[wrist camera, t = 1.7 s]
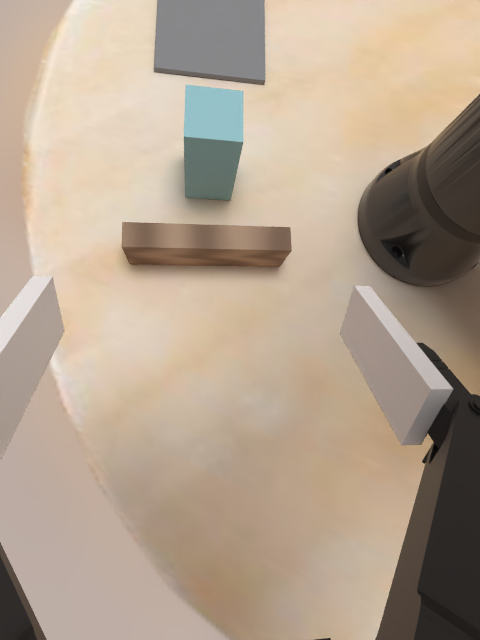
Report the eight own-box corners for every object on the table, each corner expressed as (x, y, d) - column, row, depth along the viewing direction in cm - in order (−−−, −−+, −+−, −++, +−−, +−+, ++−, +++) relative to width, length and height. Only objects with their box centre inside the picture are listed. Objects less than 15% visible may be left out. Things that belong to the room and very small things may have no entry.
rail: (278, 246, 41) (290, 227, 36) (279, 267, 40) (291, 250, 36) (130, 243, 39) (122, 222, 34) (130, 264, 38) (121, 246, 33)
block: (230, 160, 42) (243, 91, 32) (230, 200, 41) (243, 142, 31) (186, 156, 41) (185, 84, 31) (185, 197, 40) (183, 136, 30)
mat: (262, -36, 47) (263, -41, 47) (264, 84, 44) (265, 80, 44) (161, -52, 46) (160, -58, 45) (154, 71, 42) (154, 67, 42)
